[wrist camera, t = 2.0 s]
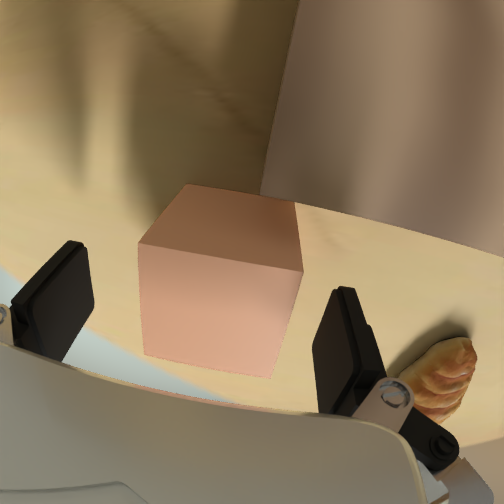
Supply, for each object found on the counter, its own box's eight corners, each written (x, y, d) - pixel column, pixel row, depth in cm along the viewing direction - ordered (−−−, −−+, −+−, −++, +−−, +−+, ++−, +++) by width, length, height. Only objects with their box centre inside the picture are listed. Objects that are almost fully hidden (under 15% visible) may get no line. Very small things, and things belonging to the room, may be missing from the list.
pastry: (418, 326, 18) (438, 371, 15) (488, 330, 18) (509, 367, 15) (366, 410, 23) (373, 450, 19) (431, 408, 23) (442, 442, 19)
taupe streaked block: (524, 26, 8) (585, 25, 4) (477, 218, 14) (528, 265, 10) (314, -72, 8) (328, -127, 4) (265, 158, 14) (259, 194, 10)
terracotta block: (294, 201, 15) (303, 272, 9) (273, 289, 17) (270, 378, 12) (186, 183, 15) (137, 242, 9) (180, 273, 17) (144, 354, 12)
